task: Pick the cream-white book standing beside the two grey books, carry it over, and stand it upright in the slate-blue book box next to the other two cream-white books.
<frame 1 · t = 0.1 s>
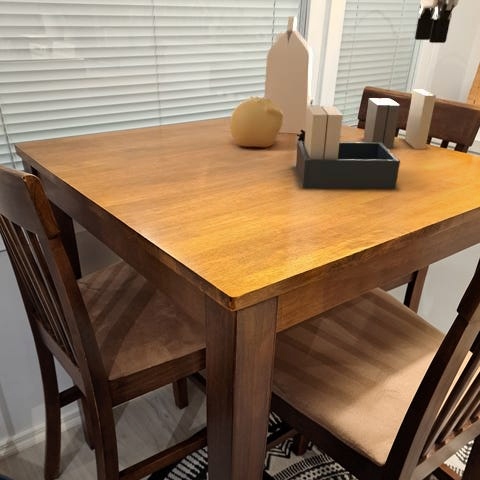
hand: (429, 41, 104), 22 cm above the table, tool pointing down, fingers open, 9 cm apart
milk: (286, 128, 135), on the table
pine cone: (317, 146, 119), on the table
white book b: (324, 177, 94), point 1 cm above the table, touching book box
grey book a: (382, 146, 119), on the table
white book: (413, 147, 119), on the table
white book a: (311, 177, 94), point 1 cm above the table, touching book box
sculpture: (255, 146, 119), on the table
book box: (342, 181, 95), on the table
grey book b: (371, 146, 119), on the table
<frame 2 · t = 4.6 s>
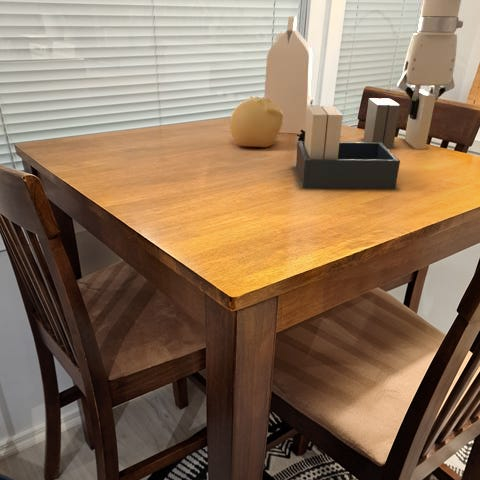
hand: (419, 117, 115), 7 cm above the table, tool pointing down, fingers closed on white book, 2 cm apart
white book: (413, 147, 119), on the table, touching gripper
everything else where it was.
when the fingers open (7 cm above the table, at t = 12.5 s): white book stays where it is, resting on book box.
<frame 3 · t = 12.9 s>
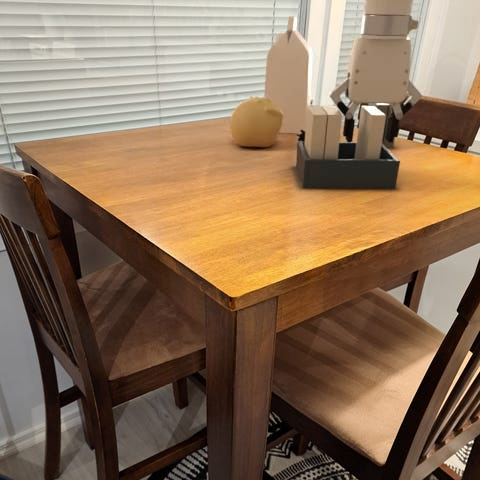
hand: (368, 140, 91), 8 cm above the table, tool pointing down, fingers open, 6 cm apart
white book b: (324, 177, 94), point 1 cm above the table, touching book box, gripper
white book: (363, 177, 95), point 1 cm above the table, touching book box
everything else where it was.
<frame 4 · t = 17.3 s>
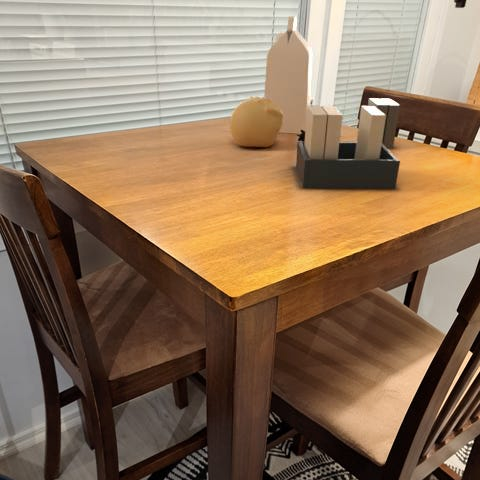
white book b: (324, 177, 94), point 1 cm above the table, touching book box
everything else where it was.
at the end: white book inside the target area in the book box (1.0 cm from its centre), point 0.8 cm above the book box's base; white book tilted 0°; the gripper is holding nothing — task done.
